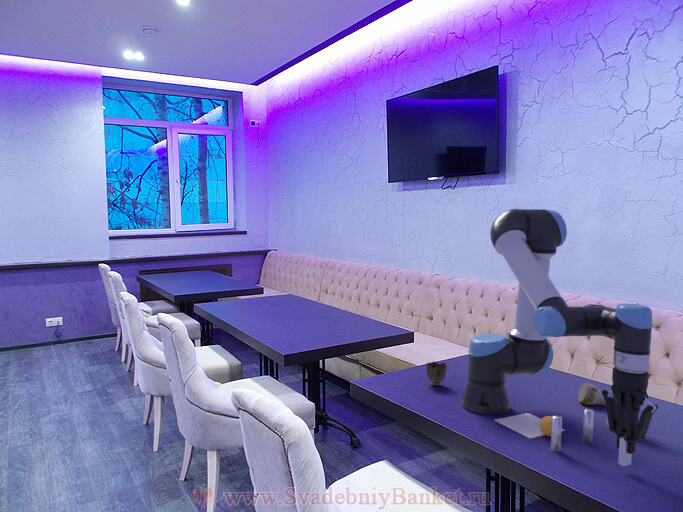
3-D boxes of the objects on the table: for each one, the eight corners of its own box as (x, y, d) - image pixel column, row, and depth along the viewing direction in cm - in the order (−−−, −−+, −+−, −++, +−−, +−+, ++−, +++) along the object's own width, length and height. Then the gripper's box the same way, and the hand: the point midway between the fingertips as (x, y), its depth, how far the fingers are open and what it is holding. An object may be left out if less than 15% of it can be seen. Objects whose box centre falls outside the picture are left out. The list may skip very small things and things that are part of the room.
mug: (617, 410, 163) (604, 385, 161) (586, 418, 167) (574, 394, 165) (611, 397, 170) (600, 373, 168) (582, 405, 173) (571, 382, 172)
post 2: (580, 441, 138) (582, 409, 138) (586, 439, 139) (588, 408, 139) (588, 444, 136) (590, 412, 135) (594, 443, 137) (596, 411, 136)
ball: (554, 433, 137) (542, 441, 140) (568, 429, 139) (555, 437, 143) (543, 414, 140) (532, 422, 143) (557, 411, 142) (545, 419, 146)
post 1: (548, 449, 133) (550, 416, 132) (555, 447, 134) (556, 414, 133) (556, 452, 131) (557, 419, 130) (562, 451, 132) (564, 418, 131)
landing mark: (494, 420, 152) (494, 419, 151) (528, 413, 158) (528, 413, 158) (529, 438, 139) (530, 438, 139) (565, 430, 145) (565, 429, 145)
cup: (449, 384, 185) (449, 363, 184) (441, 390, 178) (442, 368, 178) (430, 380, 189) (430, 360, 188) (422, 385, 182) (423, 364, 182)
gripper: (595, 363, 124) (590, 455, 125) (647, 378, 112) (641, 479, 114) (615, 360, 127) (610, 450, 129) (667, 374, 115) (661, 473, 117)
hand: (624, 463), depth 121 cm, fingers closed
